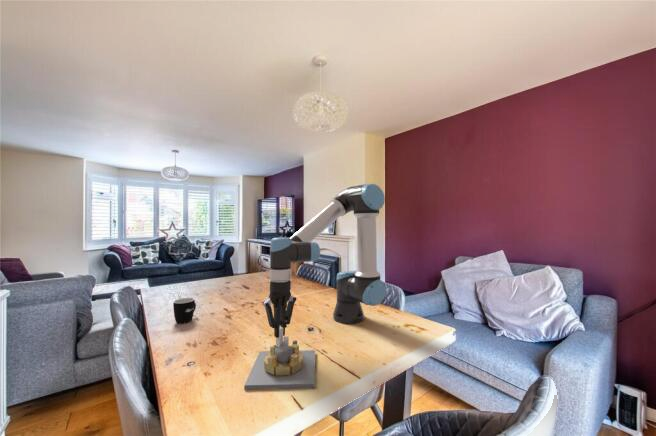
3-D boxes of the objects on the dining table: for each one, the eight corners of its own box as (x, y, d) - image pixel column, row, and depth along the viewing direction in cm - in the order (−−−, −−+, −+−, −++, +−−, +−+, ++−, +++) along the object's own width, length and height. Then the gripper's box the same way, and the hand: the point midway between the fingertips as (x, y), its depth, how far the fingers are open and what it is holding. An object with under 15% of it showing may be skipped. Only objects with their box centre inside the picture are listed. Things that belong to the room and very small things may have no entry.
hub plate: (315, 353, 97) (315, 335, 97) (314, 387, 77) (314, 365, 77) (259, 354, 97) (259, 336, 97) (244, 389, 77) (244, 367, 77)
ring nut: (302, 374, 82) (302, 359, 82) (262, 376, 80) (262, 361, 80) (302, 344, 102) (302, 332, 102) (269, 345, 100) (269, 333, 100)
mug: (185, 325, 123) (185, 303, 123) (168, 324, 125) (168, 302, 125) (202, 316, 135) (202, 296, 135) (187, 315, 137) (187, 295, 137)
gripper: (290, 276, 105) (289, 337, 104) (259, 280, 97) (258, 346, 96) (300, 279, 99) (300, 344, 98) (268, 284, 91) (267, 354, 90)
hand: (279, 345), depth 97 cm, fingers closed
